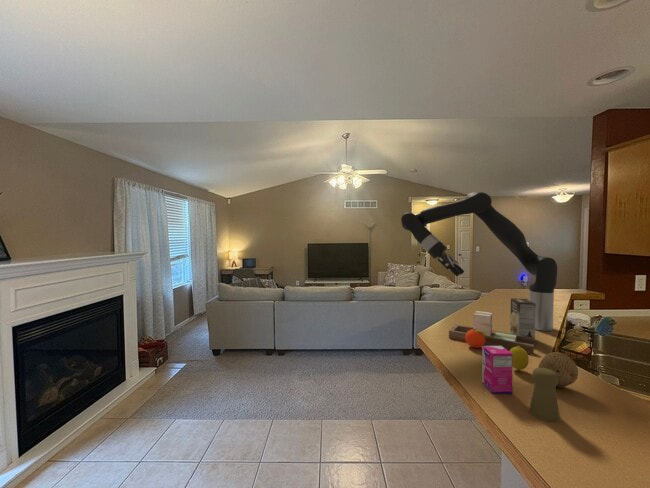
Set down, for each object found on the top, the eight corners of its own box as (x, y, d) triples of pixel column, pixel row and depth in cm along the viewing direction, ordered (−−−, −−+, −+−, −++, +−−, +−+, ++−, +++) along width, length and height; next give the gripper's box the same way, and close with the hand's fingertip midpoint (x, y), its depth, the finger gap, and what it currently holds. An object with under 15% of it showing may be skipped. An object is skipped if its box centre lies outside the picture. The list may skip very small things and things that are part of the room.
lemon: (525, 368, 99) (526, 344, 99) (530, 375, 94) (531, 350, 94) (506, 365, 101) (506, 342, 101) (510, 373, 96) (510, 348, 96)
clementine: (490, 347, 117) (490, 329, 117) (485, 353, 112) (485, 334, 112) (468, 342, 123) (468, 325, 122) (462, 347, 117) (462, 329, 117)
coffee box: (509, 334, 132) (509, 297, 132) (525, 335, 131) (526, 298, 130) (518, 341, 123) (518, 302, 123) (535, 342, 122) (536, 303, 122)
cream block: (476, 329, 130) (476, 310, 129) (492, 332, 126) (492, 313, 126) (473, 333, 125) (473, 314, 125) (489, 336, 121) (490, 316, 121)
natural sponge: (580, 399, 81) (581, 362, 80) (539, 390, 85) (540, 355, 85) (575, 384, 88) (575, 351, 88) (537, 377, 93) (538, 345, 93)
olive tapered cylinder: (523, 407, 77) (524, 365, 76) (545, 406, 77) (546, 364, 77) (542, 422, 71) (543, 376, 70) (566, 421, 71) (567, 375, 71)
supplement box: (481, 383, 89) (481, 345, 89) (501, 383, 89) (502, 345, 89) (491, 394, 83) (492, 353, 83) (513, 394, 83) (514, 353, 83)
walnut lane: (455, 331, 137) (455, 324, 137) (534, 345, 120) (534, 337, 120) (448, 337, 128) (448, 330, 128) (533, 354, 111) (533, 345, 111)
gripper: (434, 241, 131) (463, 270, 125) (443, 240, 143) (471, 266, 136) (422, 252, 134) (450, 281, 128) (432, 251, 146) (458, 277, 140)
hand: (460, 274), depth 132 cm, fingers open, 6 cm apart
